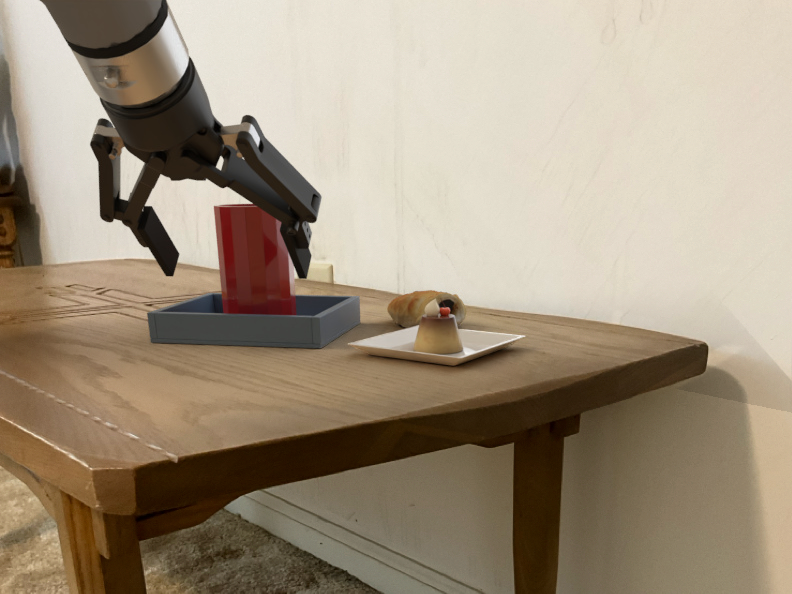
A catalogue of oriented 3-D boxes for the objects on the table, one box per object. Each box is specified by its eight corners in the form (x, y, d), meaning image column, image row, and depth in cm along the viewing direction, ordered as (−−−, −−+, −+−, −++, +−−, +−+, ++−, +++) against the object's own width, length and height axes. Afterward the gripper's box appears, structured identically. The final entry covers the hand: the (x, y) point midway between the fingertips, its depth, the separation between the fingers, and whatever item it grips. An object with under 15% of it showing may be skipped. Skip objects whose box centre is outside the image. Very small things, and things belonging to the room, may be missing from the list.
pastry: (372, 321, 94) (371, 286, 92) (420, 316, 98) (420, 281, 96) (423, 333, 87) (424, 295, 86) (473, 327, 91) (474, 290, 89)
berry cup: (213, 333, 86) (201, 206, 81) (241, 321, 92) (231, 203, 88) (282, 335, 84) (274, 206, 80) (306, 323, 91) (299, 203, 86)
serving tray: (150, 342, 84) (146, 312, 83) (211, 318, 97) (209, 292, 96) (321, 348, 80) (319, 317, 79) (360, 323, 93) (359, 296, 92)
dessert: (525, 347, 80) (528, 295, 78) (460, 371, 71) (461, 312, 69) (419, 335, 86) (419, 286, 84) (346, 356, 77) (344, 301, 75)
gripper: (-23, 116, 64) (110, 295, 83) (295, 109, 59) (356, 301, 78) (8, 44, 66) (129, 234, 86) (314, 32, 61) (369, 236, 81)
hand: (238, 266), depth 82 cm, fingers open, 13 cm apart
